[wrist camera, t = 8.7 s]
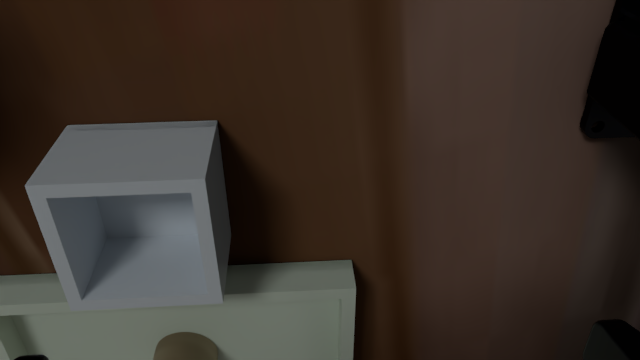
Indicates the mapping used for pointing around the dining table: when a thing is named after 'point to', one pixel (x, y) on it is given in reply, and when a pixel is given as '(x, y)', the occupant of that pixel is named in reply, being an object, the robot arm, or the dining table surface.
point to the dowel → (185, 347)
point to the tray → (192, 317)
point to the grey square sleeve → (135, 214)
